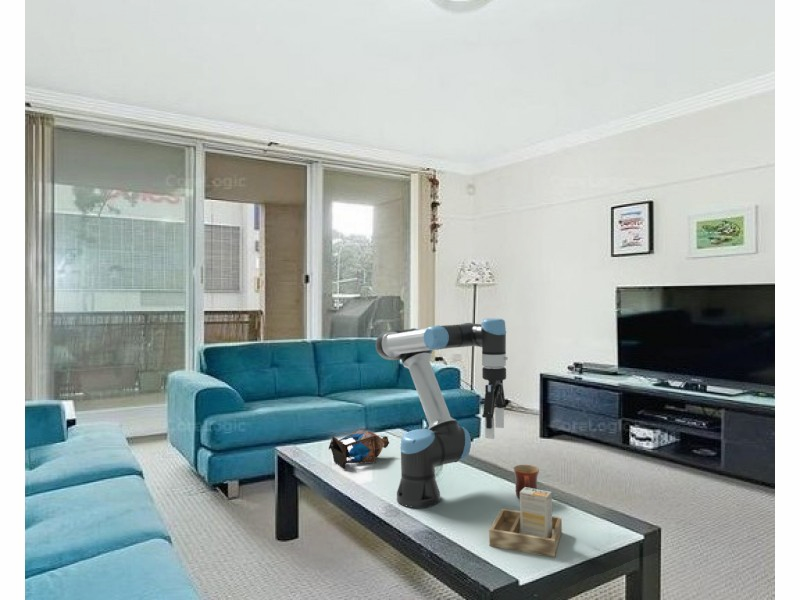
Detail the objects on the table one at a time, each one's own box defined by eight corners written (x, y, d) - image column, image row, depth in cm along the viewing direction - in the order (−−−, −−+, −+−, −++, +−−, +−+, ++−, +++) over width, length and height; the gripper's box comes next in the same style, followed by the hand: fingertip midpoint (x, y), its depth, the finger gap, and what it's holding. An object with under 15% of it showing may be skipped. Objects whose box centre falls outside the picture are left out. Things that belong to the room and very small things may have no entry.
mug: (513, 492, 192) (513, 464, 192) (538, 494, 190) (538, 465, 190) (513, 506, 180) (513, 475, 180) (540, 507, 179) (540, 477, 178)
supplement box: (553, 536, 156) (552, 491, 155) (547, 543, 152) (547, 497, 151) (525, 529, 160) (525, 486, 160) (519, 536, 156) (519, 491, 156)
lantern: (338, 481, 224) (389, 467, 237) (347, 459, 214) (400, 445, 227) (324, 449, 234) (374, 436, 247) (332, 426, 224) (384, 415, 237)
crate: (489, 545, 153) (489, 530, 153) (501, 522, 168) (501, 508, 168) (554, 557, 146) (554, 540, 146) (561, 532, 161) (561, 517, 161)
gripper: (496, 373, 160) (497, 444, 160) (513, 362, 182) (514, 424, 183) (472, 372, 162) (473, 441, 163) (491, 361, 185) (492, 422, 186)
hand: (494, 432), depth 173 cm, fingers open, 13 cm apart
